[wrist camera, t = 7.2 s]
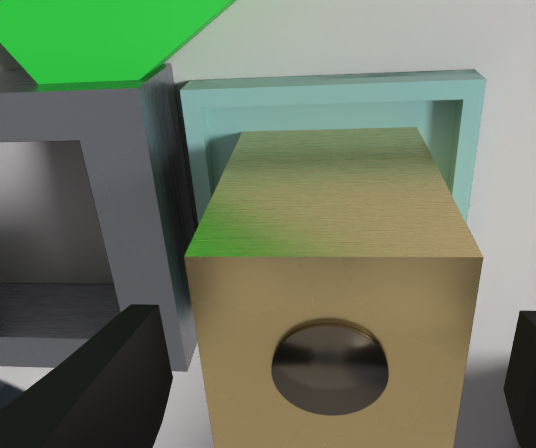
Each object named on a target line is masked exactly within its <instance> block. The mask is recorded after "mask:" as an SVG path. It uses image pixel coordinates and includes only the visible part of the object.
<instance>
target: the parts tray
mask: <svg viewBox="0 0 536 448" xmlns="http://www.w3.org/2000/svg"><path fill="white" fill-rule="evenodd" d="M485 85H486V79H485V78H484V77H483V76H482V75H481V74H479V73H478V72H477V71H476V70H474V69H473V70H447V71H421V72H395V73H369V74H343V75H317V76H291V77H265V78H239V79H213V80H190V81H189V82H188V83H187V84H186V85H185V86H184V87H183V88H182V89H181V90H180V95H181V103H182V110H183V117H184V124H185V132H186V139H187V146H188V153H189V161H190V168H191V175H192V182H193V189H194V197H195V204H196V211H197V218H198V226H199V223H200V221H201V219H202V217H203V215H204V213H205V211H206V208H207V206H208V204H209V202H210V200H211V198H212V196H213V193H214V191H215V189H216V187H217V185H218V183H219V181H220V178H221V176H222V174H223V172H224V170H225V168H226V166H227V163H228V161H229V159H230V157H231V155H232V153H233V150H234V148H235V146H236V144H237V142H238V140H239V138H240V135H241V133H242V132H245V131H282V130H320V129H357V128H395V127H418V129H419V131H420V133H421V135H422V137H423V139H424V141H425V143H426V145H427V147H428V149H429V151H430V153H431V155H432V157H433V159H434V161H435V163H436V165H437V167H438V169H439V171H440V173H441V175H442V177H443V179H444V181H445V183H446V185H447V187H448V189H449V191H450V193H451V195H452V197H453V199H454V200H455V202H456V204H457V206H458V208H459V210H460V212H461V214H462V216H463V218H464V220H465V222H466V224H467V217H468V209H469V202H470V195H471V187H472V180H473V173H474V165H475V158H476V151H477V143H478V136H479V129H480V121H481V114H482V107H483V99H484V92H485Z"/></svg>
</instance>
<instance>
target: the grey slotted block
mask: <svg viewBox="0 0 536 448" xmlns="http://www.w3.org/2000/svg"><path fill="white" fill-rule="evenodd" d="M68 140H80V144H81V148H82V152H83V156H84V161H85V165H86V169H87V173H88V177H89V182H90V186H91V190H92V194H93V198H94V202H95V207H96V211H97V215H98V219H99V223H100V228H101V232H102V236H103V240H104V244H105V248H106V253H107V257H108V261H109V265H110V269H111V273H112V278H113V282H114V285H113V284H6V283H0V366H15V367H49V368H56V367H57V366H58V365H59V364H61V363H62V362H63V361H64V360H65V359H66V358H68V357H69V356H70V355H71V354H72V353H74V352H75V351H76V350H77V349H78V348H80V347H81V346H82V345H83V344H84V343H86V342H87V341H88V340H89V339H90V338H91V337H93V336H94V335H95V334H96V333H97V332H98V331H100V330H101V329H102V328H103V327H104V326H105V325H107V324H108V323H109V322H110V321H111V320H112V319H114V318H115V317H116V316H117V315H118V314H119V313H121V312H122V311H123V310H124V309H126V308H127V307H128V306H129V305H131V304H147V305H159V309H160V314H161V319H162V324H163V329H164V335H165V340H166V345H167V350H168V355H169V360H170V366H171V371H185V372H187V371H188V368H189V365H190V362H191V359H192V356H193V353H194V350H195V347H196V344H197V335H196V328H195V322H194V316H193V309H192V303H191V297H190V291H189V284H188V278H187V272H186V265H185V259H184V256H185V254H186V251H187V249H188V247H189V245H190V243H191V241H192V238H193V236H194V234H195V228H194V221H193V214H192V207H191V200H190V193H189V186H188V179H187V172H186V165H185V158H184V151H183V144H182V137H181V130H180V123H179V116H178V109H177V102H176V95H175V88H174V81H173V74H172V67H171V64H162V65H161V66H159V67H158V68H156V69H155V70H153V71H152V72H150V73H149V74H147V75H146V76H144V77H143V78H141V79H140V80H124V81H101V82H77V83H54V84H38V83H37V82H36V81H35V80H34V79H33V78H32V77H31V76H30V75H29V74H28V73H27V72H26V70H8V71H0V142H28V141H68Z"/></svg>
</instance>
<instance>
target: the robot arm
mask: <svg viewBox="0 0 536 448" xmlns="http://www.w3.org/2000/svg"><path fill="white" fill-rule="evenodd" d="M172 380H173V376H172V371H171V366H170V360H169V355H168V350H167V345H166V340H165V335H164V329H163V324H162V319H161V314H160V309H159V305H147V304H131V305H129V306H128V307H127V308H126V309H124V310H123V311H122V312H121V313H119V314H118V315H117V316H116V317H115V318H114V319H112V320H111V321H110V322H109V323H108V324H107V325H105V326H104V327H103V328H102V329H101V330H100V331H98V332H97V333H96V334H95V335H94V336H93V337H91V338H90V339H89V340H88V341H87V342H86V343H84V344H83V345H82V346H81V347H80V348H78V349H77V350H76V351H75V352H74V353H72V354H71V355H70V356H69V357H68V358H66V359H65V360H64V361H63V362H62V363H61V364H59V365H58V366H57V367H56V368H54V369H53V370H52V371H51V372H49V373H48V374H47V375H45V376H44V377H43V378H41V379H40V380H39V381H38V382H36V383H35V384H34V385H32V386H31V387H30V388H29V389H27V390H26V391H25V392H23V393H22V394H21V395H20V396H18V397H17V398H16V399H14V400H13V401H12V402H10V403H9V404H8V405H6V406H5V407H3V408H2V409H1V410H0V448H153V445H154V443H155V440H156V437H157V435H158V432H159V429H160V427H161V424H162V420H163V417H164V413H165V409H166V405H167V401H168V397H169V392H170V388H171V384H172ZM504 393H505V397H506V401H507V405H508V408H509V412H510V416H511V420H512V423H513V427H514V430H515V434H516V437H517V440H518V443H519V445H520V448H536V311H520V312H519V317H518V322H517V327H516V332H515V336H514V341H513V346H512V351H511V356H510V361H509V365H508V370H507V375H506V380H505V385H504Z"/></svg>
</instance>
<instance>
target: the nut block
mask: <svg viewBox="0 0 536 448" xmlns="http://www.w3.org/2000/svg"><path fill="white" fill-rule="evenodd" d="M184 259H185V265H186V272H187V278H188V284H189V291H190V297H191V303H192V309H193V316H194V322H195V328H196V335H197V341H198V347H199V354H200V360H201V366H202V373H203V379H204V385H205V392H206V398H207V404H208V410H209V417H210V423H211V429H212V436H213V442H214V448H453V445H454V439H455V432H456V426H457V420H458V413H459V407H460V401H461V394H462V388H463V382H464V375H465V369H466V363H467V357H468V350H469V344H470V338H471V331H472V325H473V319H474V312H475V306H476V300H477V293H478V287H479V281H480V274H481V268H482V262H483V256H482V254H481V252H480V250H479V248H478V246H477V244H476V242H475V240H474V238H473V236H472V234H471V232H470V230H469V228H468V226H467V224H466V222H465V220H464V218H463V216H462V214H461V212H460V210H459V208H458V206H457V204H456V202H455V200H454V199H453V197H452V195H451V193H450V191H449V189H448V187H447V185H446V183H445V181H444V179H443V177H442V175H441V173H440V171H439V169H438V167H437V165H436V163H435V161H434V159H433V157H432V155H431V153H430V151H429V149H428V147H427V145H426V143H425V141H424V139H423V137H422V135H421V133H420V131H419V129H418V127H395V128H357V129H320V130H282V131H245V132H242V133H241V135H240V138H239V140H238V142H237V144H236V146H235V148H234V150H233V153H232V155H231V157H230V159H229V161H228V163H227V166H226V168H225V170H224V172H223V174H222V176H221V178H220V181H219V183H218V185H217V187H216V189H215V191H214V193H213V196H212V198H211V200H210V202H209V204H208V206H207V208H206V211H205V213H204V215H203V217H202V219H201V221H200V223H199V226H198V228H197V230H196V232H195V234H194V236H193V238H192V241H191V243H190V245H189V247H188V249H187V251H186V254H185V256H184Z"/></svg>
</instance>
